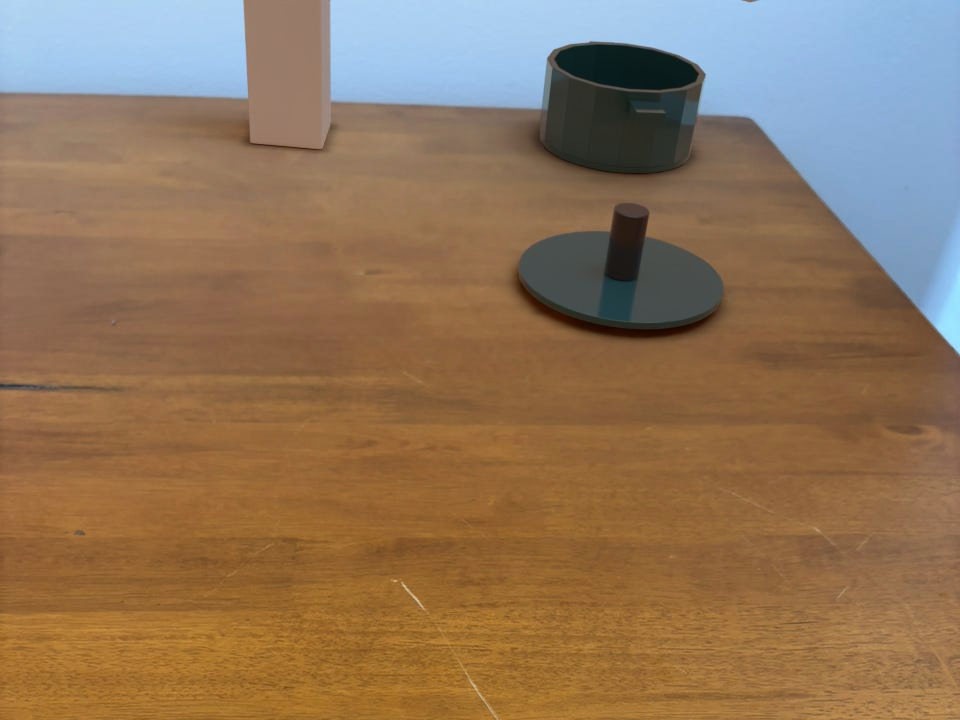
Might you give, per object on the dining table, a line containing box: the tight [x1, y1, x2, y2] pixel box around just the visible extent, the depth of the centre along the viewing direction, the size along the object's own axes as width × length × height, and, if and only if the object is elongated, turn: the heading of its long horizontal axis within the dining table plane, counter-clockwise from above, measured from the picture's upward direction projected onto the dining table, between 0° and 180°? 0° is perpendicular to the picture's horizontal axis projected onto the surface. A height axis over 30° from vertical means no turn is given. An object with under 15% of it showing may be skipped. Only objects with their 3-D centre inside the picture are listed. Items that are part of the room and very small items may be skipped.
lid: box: [517, 202, 725, 330], centre depth 80 cm, size 14×14×6 cm
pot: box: [538, 40, 707, 174], centre depth 102 cm, size 13×19×6 cm
